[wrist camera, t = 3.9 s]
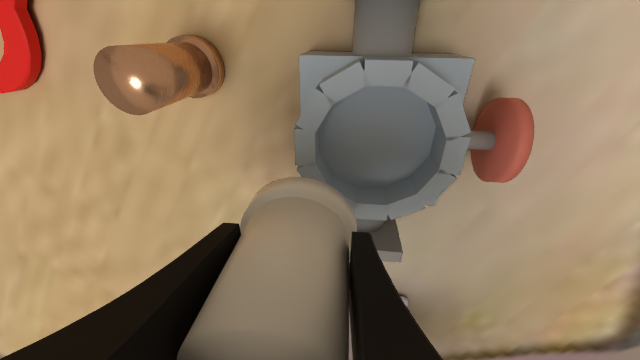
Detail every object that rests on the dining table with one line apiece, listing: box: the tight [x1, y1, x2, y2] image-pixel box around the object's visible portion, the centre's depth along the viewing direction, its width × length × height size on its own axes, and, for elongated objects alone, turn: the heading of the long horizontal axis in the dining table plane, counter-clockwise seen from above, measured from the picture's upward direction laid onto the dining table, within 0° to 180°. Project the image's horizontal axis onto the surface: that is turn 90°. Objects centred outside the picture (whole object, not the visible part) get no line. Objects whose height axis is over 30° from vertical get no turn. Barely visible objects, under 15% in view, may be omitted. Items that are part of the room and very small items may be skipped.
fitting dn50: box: [177, 177, 357, 360], centre depth 9 cm, size 5×5×6 cm
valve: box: [294, 0, 534, 262], centre depth 15 cm, size 15×11×5 cm
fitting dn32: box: [94, 36, 225, 115], centre depth 14 cm, size 3×3×6 cm
